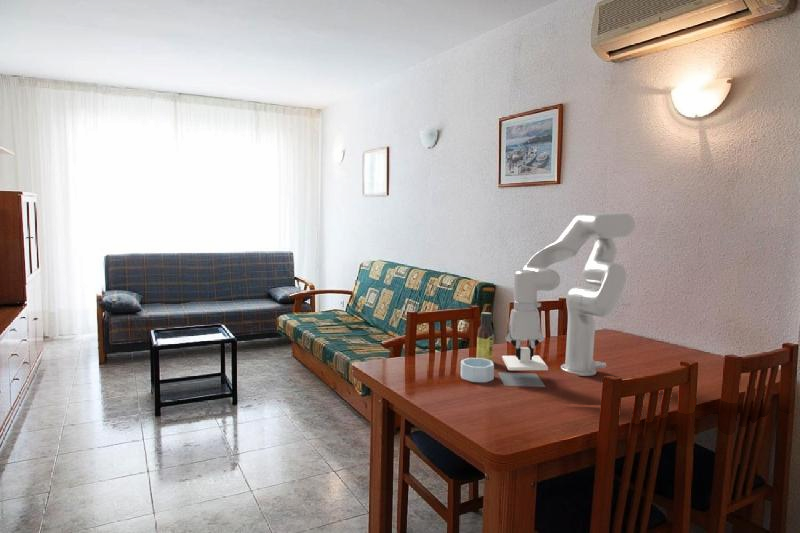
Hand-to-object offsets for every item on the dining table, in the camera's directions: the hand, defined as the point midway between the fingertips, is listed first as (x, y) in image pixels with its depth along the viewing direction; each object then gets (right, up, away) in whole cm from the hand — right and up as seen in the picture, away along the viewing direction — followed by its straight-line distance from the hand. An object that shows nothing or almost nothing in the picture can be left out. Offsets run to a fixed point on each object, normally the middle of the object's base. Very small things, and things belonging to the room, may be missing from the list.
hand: (524, 358), depth 182 cm
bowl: (-16, -8, +2) cm, 18 cm away
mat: (-1, -8, 0) cm, 8 cm away
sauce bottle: (-11, -6, +20) cm, 23 cm away
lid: (0, -2, 0) cm, 2 cm away
